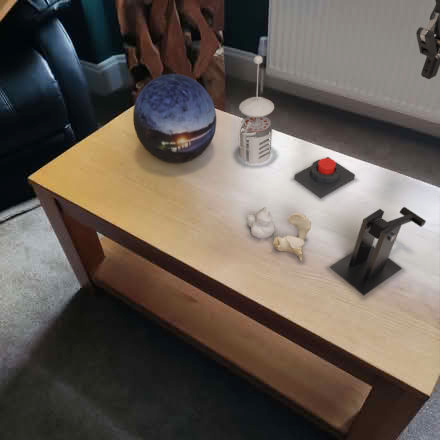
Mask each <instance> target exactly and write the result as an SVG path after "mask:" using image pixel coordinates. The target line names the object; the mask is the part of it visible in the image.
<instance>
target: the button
mask: <svg viewBox="0 0 440 440" xmlns="http://www.w3.org/2000/svg"><path fill="white" fill-rule="evenodd" d="M329 158H330V157H329ZM329 158H327V157H324V158H321V159H318V160H319V162H318V167H317V170H318V172H320V173H321V174H326V175H327V174H332V173H333V172H334V171H335V166H336V163H335V162H336V161H335V160H334V159H332V158H331V159H329Z"/></svg>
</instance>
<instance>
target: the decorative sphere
mask: <svg viewBox="0 0 440 440" xmlns="http://www.w3.org/2000/svg"><path fill="white" fill-rule="evenodd" d="M133 106H134V107H133V115H132V116H133V118H132V120H133V128H134V131H135V134H136V136H137V139H138V141H139V142H140V144H141V145H142V147H143V148H144V149H145V150H146V151H147V152H148V153H149V154H150V155H152V156H153V158H154V157H155V158H156V159H158V160H160V161H162V162H166V163H170V164H182V163H187V162H191V161H193V160H195V159H196V158H198V157H200V156H201V155H202V154H203V153H204V152H205V151H206V150H207V149H208V147H209V146H210V145H211V143H212V141H213V139H214V136H215V133H216V128H217V111H216V108H215V103H214V101H213V99H212V97H211V96H210V94H209V92H208V91H207V90H206V88H205V87H204V86H203V85H202V84H201V83H199V82H198V81H197V80H195V79H193V78H192V77H190V76H187V75H184V74H179V73H168V74H162V75H160V76H157V77H155V78H153V79H151V80H150V81H149V82H148V83H146V84H145V86H144V87H143V88H142V89H141V90H140V92H139V93H138V95H137V97H136V100H135V103H134V105H133Z"/></svg>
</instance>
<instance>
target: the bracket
mask: <svg viewBox="0 0 440 440" xmlns="http://www.w3.org/2000/svg"><path fill="white" fill-rule="evenodd" d="M384 214H385V211H384V210H383V209H381V208H379V209H377V210H376V211H374V212H372V213H371V214H369V215H367V216H366V217H364V218H363V219H362V222H361V225H360V229H359V232H358V234H357V237H356V241H355V245H354V247H353V250H352V252H351V253H349V254H348V255H346V256H345V257H343V258H342V259H340V260H339V261H337V262H335V263H334V264H332V265H331V266H329V269H330V270H331V271H333V272H334V273H335V274H336V275H337V276H339V277H340V278H341V279H342V280H343V281H345V282H346V283H347V284H348V285H350V286H351V287H352V289H355V291H356V292H358V293H359V294H361V295H362V296H363V297H365V296H366V295H367V294H369V293H370V292H372V291H373V290H375V289H376V288H377V287H379V286H380V285H381V284H383V283H385V282H386V281H387V280H388V279H390V278H391V277H393V276H394V275H396V274H397V273H398V272H400V271H401V270H403V268H402V267H401V266H400V265H399V264H397V263H396V262H395V261H393V260H392V259H391V258H389V257H390V254H391V252H392V250H393V247H394V245H395V242H396V240H397V237H398V235H399V233H400V230H401V227H402V223H400V222H399V221H397V222H395V223H394V224H392V225H391V226H389V227H388V228H386V229H384V230H383V231H381V233H380V236H379V238H378V239H377V241H376V243H375V247H374V246H373V244H374V242H375V239H376V238H375V237H374V236H372V235H371V234H370V233H368V232H369V230H370V228H371V226H372V224H373V222H374V221H377V220H380V219H383V217H384Z"/></svg>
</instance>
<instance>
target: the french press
mask: <svg viewBox="0 0 440 440" xmlns="http://www.w3.org/2000/svg"><path fill="white" fill-rule="evenodd" d="M253 63H254V64H257V71H256V72H257V73H256V74H257V75H256V78H257V79H256V96H252V97H249V98H246V99H245V100H243V101H242V102H241V103H240V104H239V105H238V106H239V111H240V112H241V114H242V115H245V116H246V117H244V118H243V119H242V120H241V121H240V122H241V124H240V126H239V129H238V134H237V143H238V146H239V156H240V158H241V160H242V161H243V162H246V163H248V164H250V165H251V164H252V165H259V164H263V163H265V162H267V161H268V160H269V159H270V158H271V154H272V153H271V152H272V151H271V150H272V137H273V126H272V121H271V119H270V118H269V117H267V116H268V115H270V114H271V113H272V112H273V111H274V109H275V104H274V103H273V101H271V100H269V99H268V98H265V97H263V96H259V95H258V94H259V69H260V68H259V67H260V66H259V65H260V64H262V63H263V57H262V56H261V55H256V56H254V58H253ZM243 129H244V130H243ZM254 133H255V134H254ZM247 134H248V135H247Z"/></svg>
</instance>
